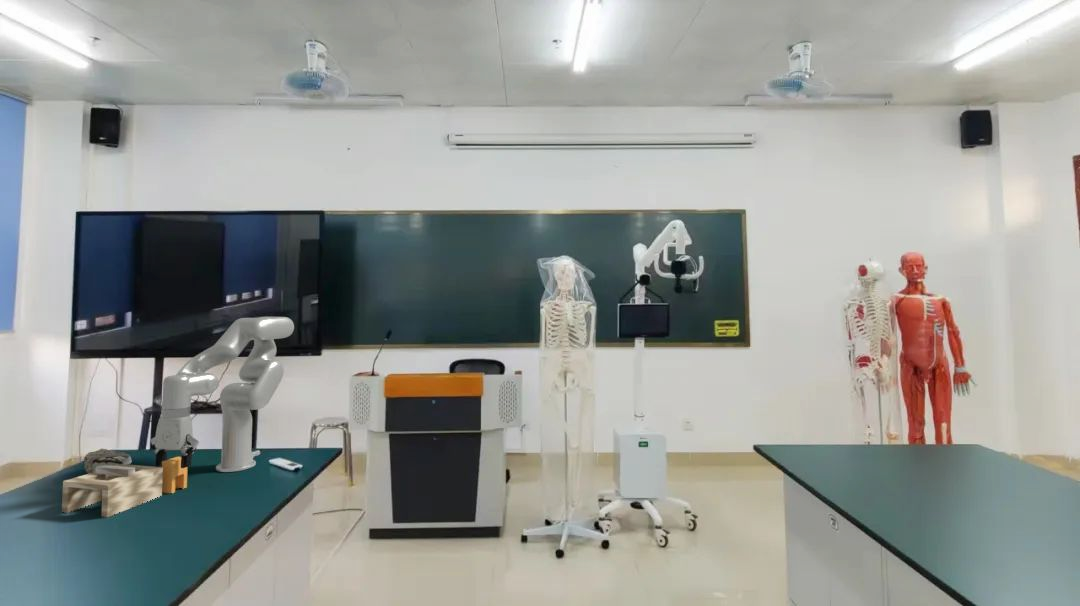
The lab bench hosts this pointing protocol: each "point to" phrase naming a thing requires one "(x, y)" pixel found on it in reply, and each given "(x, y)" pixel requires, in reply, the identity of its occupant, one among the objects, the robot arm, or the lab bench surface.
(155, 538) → the lab bench surface
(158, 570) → the lab bench surface
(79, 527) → the lab bench surface
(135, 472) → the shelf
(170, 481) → the tall wooden brick
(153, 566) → the lab bench surface
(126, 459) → the food container
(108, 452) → the pumice stone
